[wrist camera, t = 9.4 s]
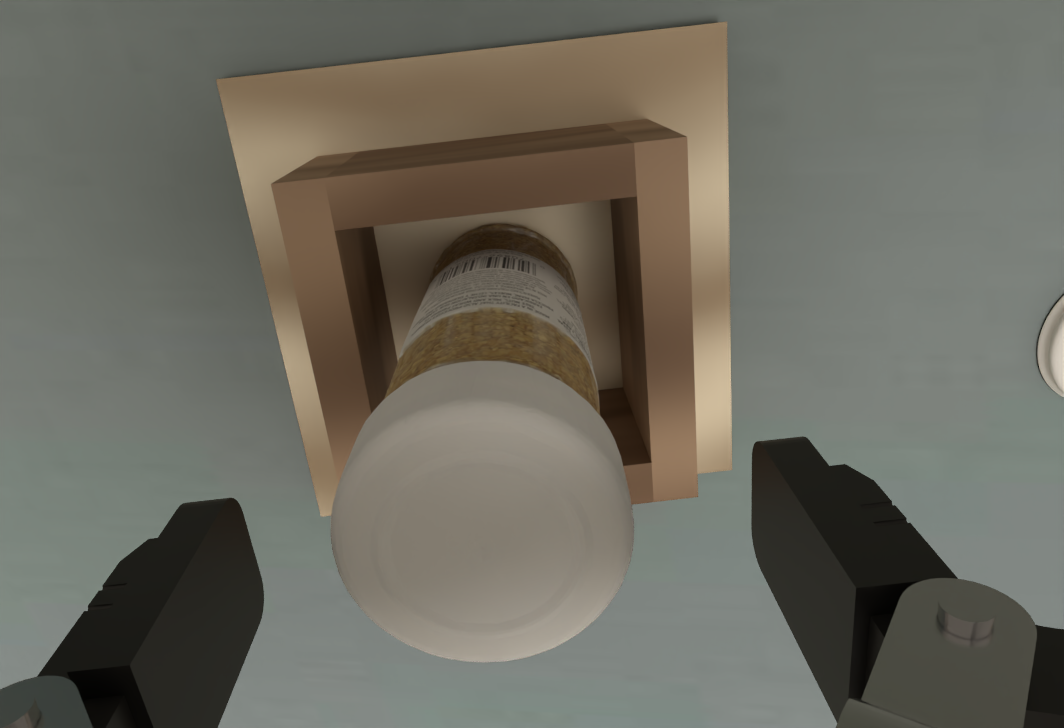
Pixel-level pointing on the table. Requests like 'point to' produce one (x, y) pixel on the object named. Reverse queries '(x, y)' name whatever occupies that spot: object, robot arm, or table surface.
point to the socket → (503, 198)
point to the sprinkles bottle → (487, 465)
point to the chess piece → (1053, 349)
